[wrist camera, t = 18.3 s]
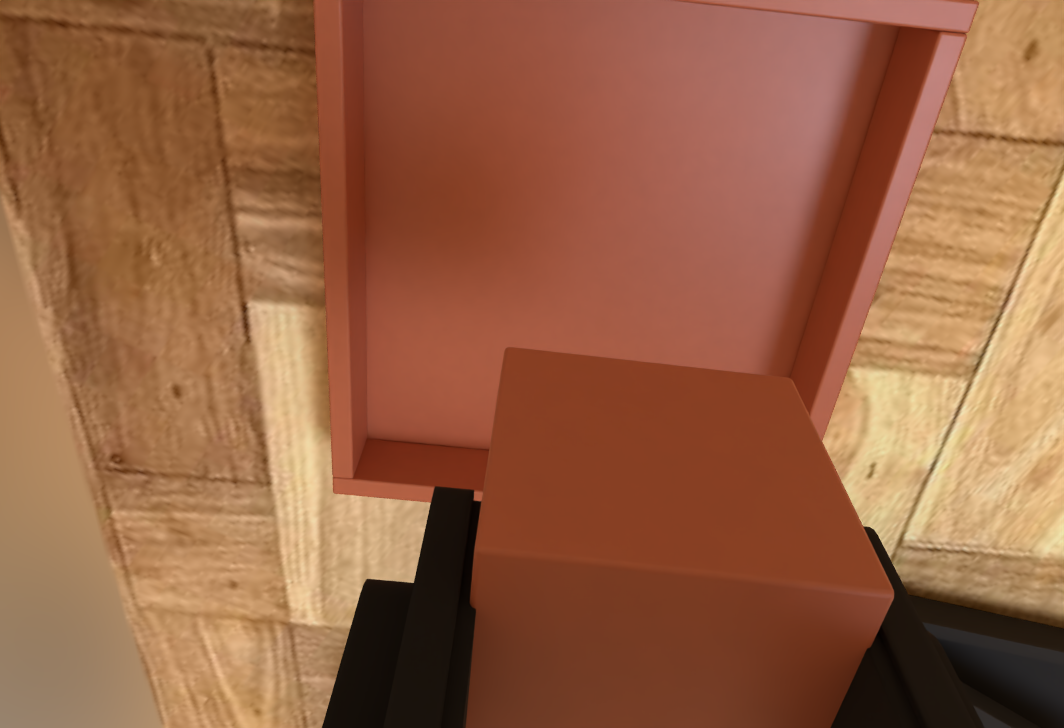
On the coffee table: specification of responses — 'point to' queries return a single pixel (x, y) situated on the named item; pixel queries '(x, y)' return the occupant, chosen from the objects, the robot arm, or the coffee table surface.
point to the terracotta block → (663, 553)
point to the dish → (603, 198)
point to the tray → (1001, 663)
